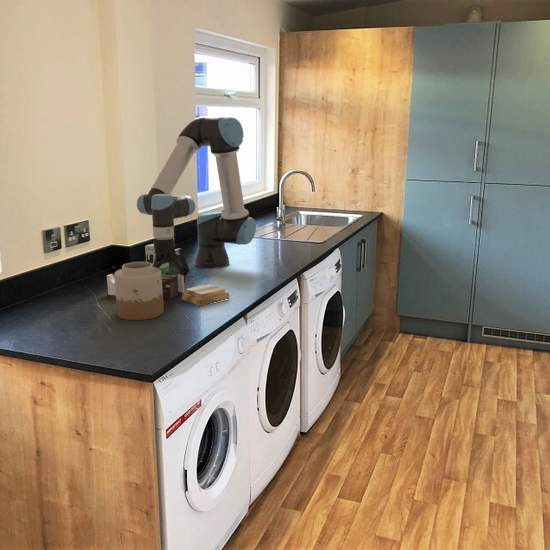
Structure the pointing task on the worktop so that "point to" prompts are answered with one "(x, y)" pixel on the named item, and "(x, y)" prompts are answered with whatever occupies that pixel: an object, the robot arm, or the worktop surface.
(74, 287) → the worktop surface
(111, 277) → the bracket
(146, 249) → the ink box
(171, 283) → the box
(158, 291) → the vase
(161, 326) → the worktop surface
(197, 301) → the plinth
